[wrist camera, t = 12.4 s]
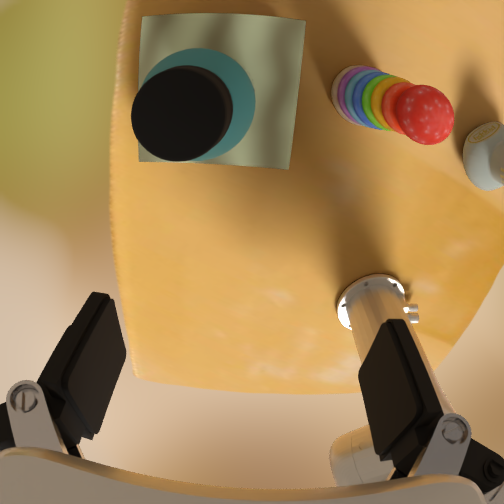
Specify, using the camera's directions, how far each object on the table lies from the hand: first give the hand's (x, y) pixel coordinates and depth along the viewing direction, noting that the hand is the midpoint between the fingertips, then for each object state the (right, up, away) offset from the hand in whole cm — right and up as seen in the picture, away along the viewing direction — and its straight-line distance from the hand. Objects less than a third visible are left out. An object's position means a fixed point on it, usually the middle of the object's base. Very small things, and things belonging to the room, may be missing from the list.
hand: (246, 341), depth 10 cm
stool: (-3, +23, +24) cm, 33 cm away
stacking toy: (+14, +23, +24) cm, 36 cm away
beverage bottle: (-3, +19, +17) cm, 26 cm away
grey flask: (+35, +19, +27) cm, 48 cm away
